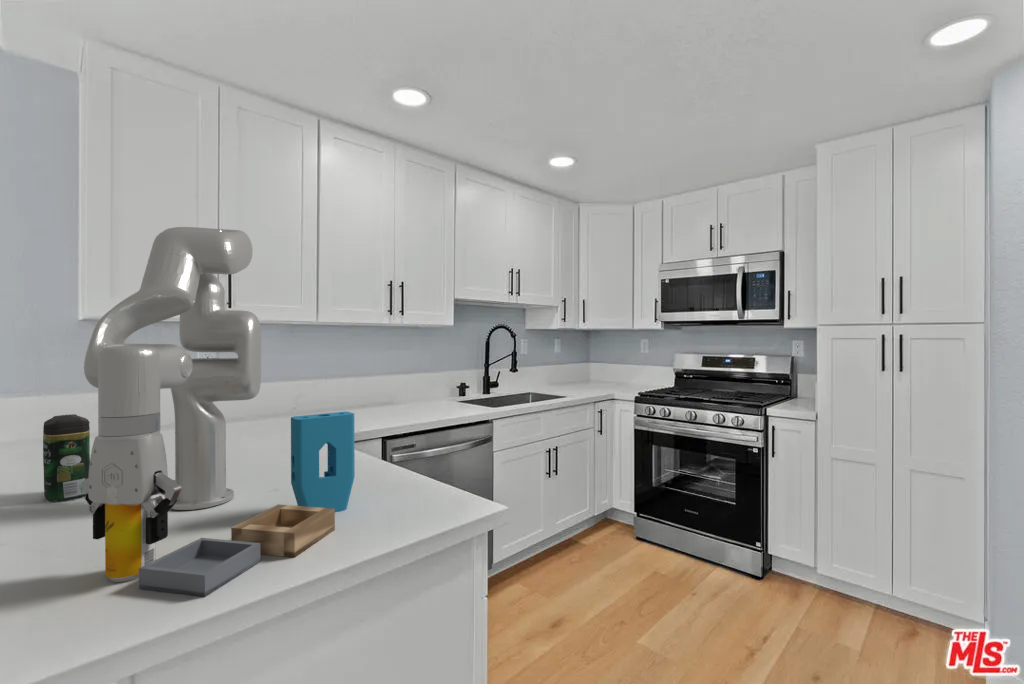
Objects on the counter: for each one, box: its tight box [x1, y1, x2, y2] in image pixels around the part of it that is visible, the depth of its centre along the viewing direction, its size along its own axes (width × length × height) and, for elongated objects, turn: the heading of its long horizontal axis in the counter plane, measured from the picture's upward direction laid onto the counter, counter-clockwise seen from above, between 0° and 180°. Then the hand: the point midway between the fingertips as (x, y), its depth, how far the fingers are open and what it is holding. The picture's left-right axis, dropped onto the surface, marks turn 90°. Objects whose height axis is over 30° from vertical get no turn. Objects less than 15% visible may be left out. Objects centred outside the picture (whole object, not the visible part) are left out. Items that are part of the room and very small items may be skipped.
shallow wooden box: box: [230, 504, 336, 558], centre depth 88 cm, size 12×12×4 cm
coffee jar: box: [42, 413, 91, 502], centre depth 113 cm, size 10×8×19 cm
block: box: [290, 411, 356, 513], centre depth 103 cm, size 12×5×20 cm, turn 130°
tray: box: [138, 537, 262, 598], centre depth 75 cm, size 11×11×3 cm
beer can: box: [104, 486, 157, 583], centre depth 76 cm, size 6×6×15 cm
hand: (130, 538), depth 75 cm, fingers open, 9 cm apart
